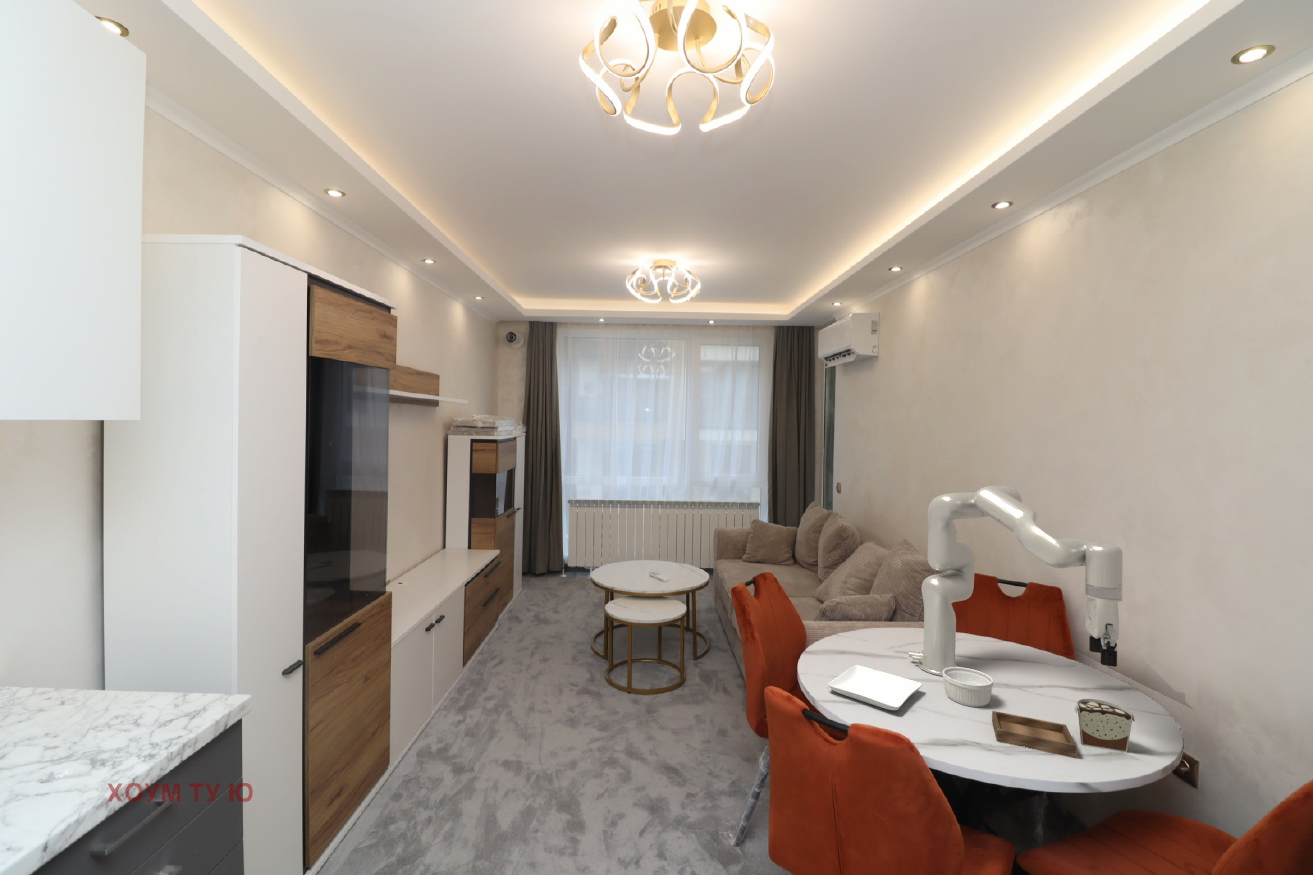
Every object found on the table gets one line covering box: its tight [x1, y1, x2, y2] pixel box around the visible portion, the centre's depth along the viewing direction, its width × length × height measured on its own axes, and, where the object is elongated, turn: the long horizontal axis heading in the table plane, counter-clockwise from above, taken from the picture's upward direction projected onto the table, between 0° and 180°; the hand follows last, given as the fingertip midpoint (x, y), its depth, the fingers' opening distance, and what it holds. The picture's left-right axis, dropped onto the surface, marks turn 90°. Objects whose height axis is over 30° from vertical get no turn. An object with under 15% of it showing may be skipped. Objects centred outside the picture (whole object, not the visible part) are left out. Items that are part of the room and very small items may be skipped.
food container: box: [1074, 698, 1136, 753], centre depth 144 cm, size 12×6×10 cm, turn 71°
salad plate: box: [827, 664, 923, 711], centre depth 170 cm, size 21×21×3 cm
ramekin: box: [942, 666, 994, 708], centre depth 168 cm, size 13×13×7 cm
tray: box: [991, 710, 1077, 759], centre depth 145 cm, size 17×11×3 cm
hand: (1102, 658), depth 145 cm, fingers open, 9 cm apart
